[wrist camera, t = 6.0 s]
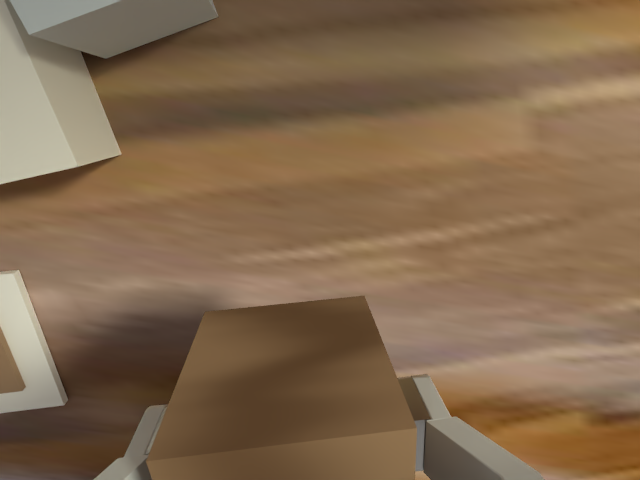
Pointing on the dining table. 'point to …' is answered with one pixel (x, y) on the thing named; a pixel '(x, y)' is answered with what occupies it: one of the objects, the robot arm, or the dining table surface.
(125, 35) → the grey cube
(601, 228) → the dining table surface
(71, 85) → the plinth block
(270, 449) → the walnut cube
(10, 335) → the tile
